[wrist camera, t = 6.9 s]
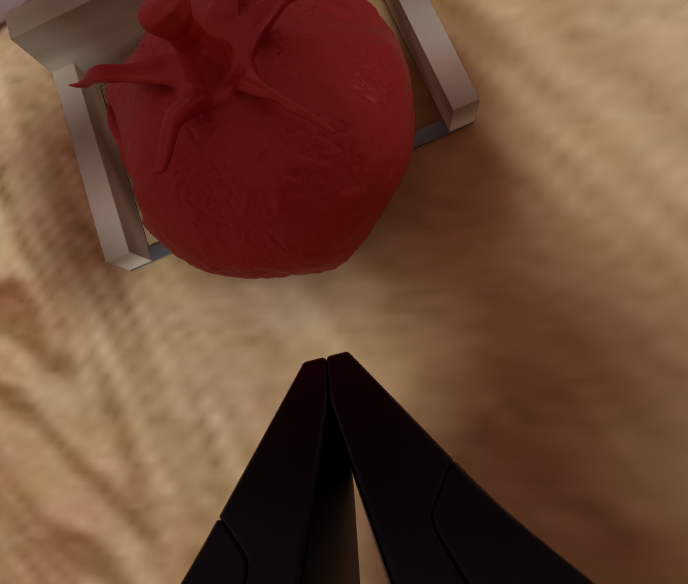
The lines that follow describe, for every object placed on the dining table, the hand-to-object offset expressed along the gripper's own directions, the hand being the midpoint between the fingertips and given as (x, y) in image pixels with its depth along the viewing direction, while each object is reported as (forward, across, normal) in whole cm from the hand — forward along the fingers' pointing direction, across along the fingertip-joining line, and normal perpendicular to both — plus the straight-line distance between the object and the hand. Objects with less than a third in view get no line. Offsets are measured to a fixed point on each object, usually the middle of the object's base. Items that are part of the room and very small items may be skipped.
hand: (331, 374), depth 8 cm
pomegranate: (+12, 0, -1) cm, 12 cm away
